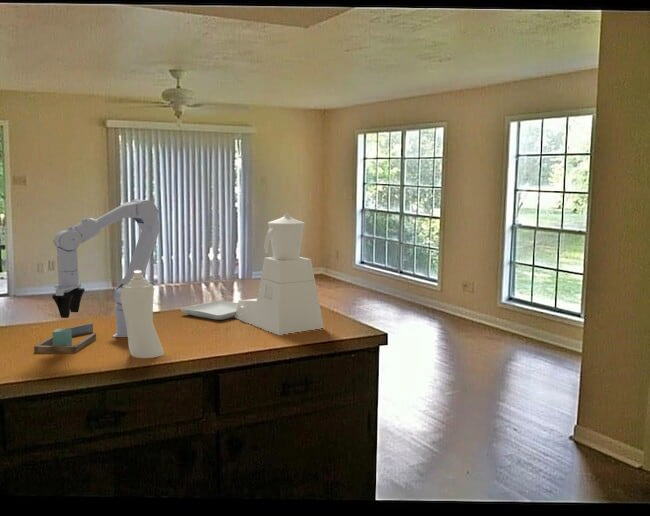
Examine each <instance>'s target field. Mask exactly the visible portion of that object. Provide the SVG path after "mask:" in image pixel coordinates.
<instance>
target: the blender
mask: <svg viewBox="0 0 650 516" xmlns="http://www.w3.org/2000/svg"><path fill="white" fill-rule="evenodd" d="M267 225H268V229H267V232H266V235H265V238H264V243H263V249H264V254H269V247H270V246H269V245H270V243H271V251H272V252H271V253H272V256H269V257H264V258H263V263H262V269H261V275H260V279H259V285H258V292H257V297H256V298H249V299H241V300H238V302H237V303H238V305H237V309H236V313H235V316H234V317H233V318H235V319H237V320H240V321H241V322H243V323H246V324H248V323H249V325H251V324H252V325H251V326H254V327H256V328H258V327H259V328H258V329H260V328H262V329H261V330H263V329H264V330H263V331H266V332H268V331H269V333H271V332H272V333H271V334H274V335H276V334H277V335H276V336H284V335H283V334H286V335H289V334H288V333H293V334H295V333H294V332H300V333H302V332H301V331H307V330H314V329H320V328H324V323H323V322H324V321H323V316H322V310H321V304H320V303H321V302H320V299H319V294H318V289H317V288H318V287H317V283H316V278H315V274H314V268H313V267H314V266H313V263H312V258H307V257H302V256H301V255H300V254H301V248H302V242H303V236H304V235H303V234H304V230H305V225H306V222H304V221H302V220H298V219H296V218H293V217H292V216H291V215H290V213H289V212H284V214H283V216H282V217H280V218H277V219H274V220H271V221H268V222H267ZM324 329H325V328H324ZM320 330H321V329H320ZM314 331H315V330H314ZM307 332H308V331H307Z"/></svg>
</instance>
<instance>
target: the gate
mask: <svg viewBox="0 0 650 516" xmlns="http://www.w3.org/2000/svg"><path fill="white" fill-rule="evenodd" d="M64 329H72V338H73V337H77V336H83V335H87V334H92V333H94V324H93V323H92V322H91V323H86V324H84V323H83V324H80V325H75V326H71V327H66V328H64ZM91 332H92V333H91ZM82 334H83V335H82Z"/></svg>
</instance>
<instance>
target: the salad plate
mask: <svg viewBox="0 0 650 516" xmlns="http://www.w3.org/2000/svg"><path fill="white" fill-rule="evenodd" d="M237 305H238V302H233V301H226V300H214V301H209V302H204V303H198V304H193V305H188V306H184V307H181V308H180V310H181V311H182V312H183V313H185V314H186V315H189V316H193V317H198V318H204V319H208V320H215V321H222V320H228V319H233V318H235V317H234V316H235V313H236V309H237Z"/></svg>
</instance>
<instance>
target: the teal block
mask: <svg viewBox="0 0 650 516" xmlns="http://www.w3.org/2000/svg"><path fill="white" fill-rule="evenodd" d="M51 333H52V336H53V344H52V346H73V337H72V329H65V328H56V329H55V330H53V331H52V332H51Z"/></svg>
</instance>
